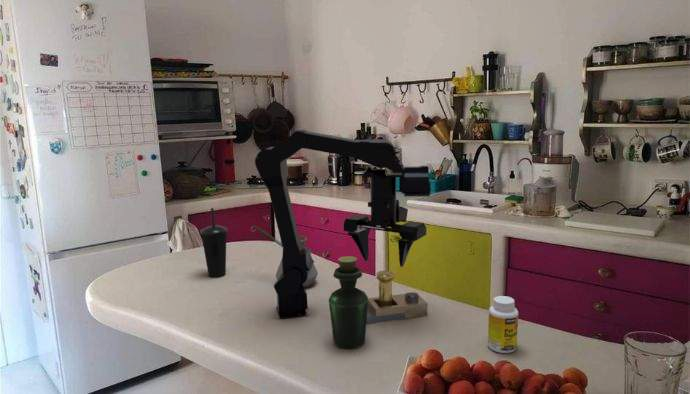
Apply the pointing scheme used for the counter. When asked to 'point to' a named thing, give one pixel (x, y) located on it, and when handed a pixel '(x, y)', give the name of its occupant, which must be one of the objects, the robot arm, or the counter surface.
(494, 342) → the supplement bottle
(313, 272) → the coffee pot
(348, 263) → the potion bottle
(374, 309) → the knobbed window plate
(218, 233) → the drinking cup
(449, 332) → the counter surface
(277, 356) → the counter surface
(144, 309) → the counter surface
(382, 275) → the pin
